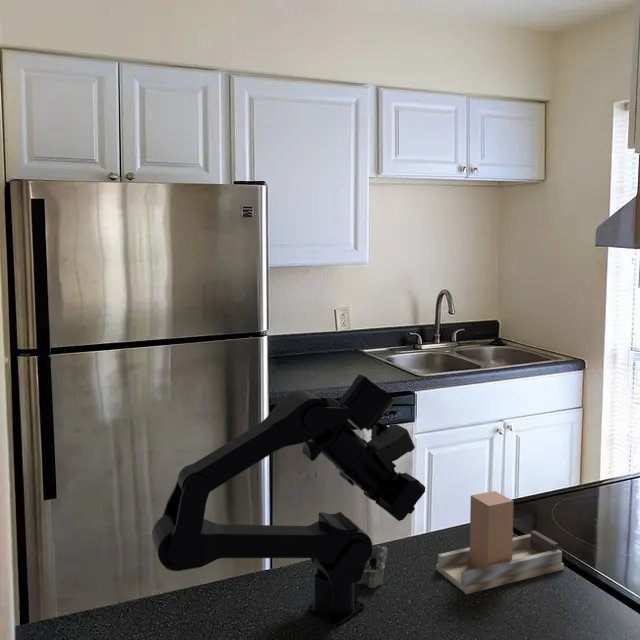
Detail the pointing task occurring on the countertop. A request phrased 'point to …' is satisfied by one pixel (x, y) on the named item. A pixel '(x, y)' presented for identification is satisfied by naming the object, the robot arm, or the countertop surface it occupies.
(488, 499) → the chute block
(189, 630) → the countertop surface
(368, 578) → the egg carton
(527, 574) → the chute
